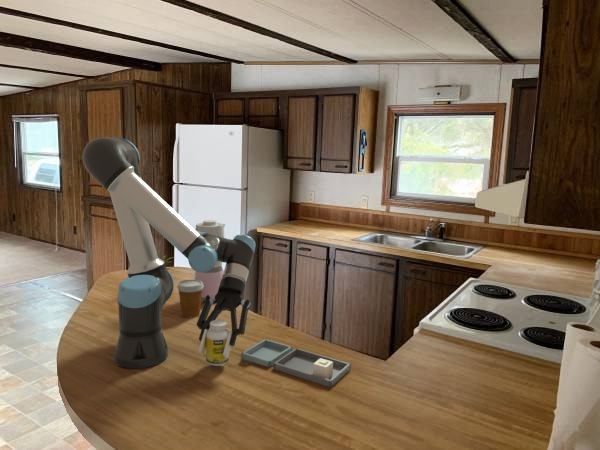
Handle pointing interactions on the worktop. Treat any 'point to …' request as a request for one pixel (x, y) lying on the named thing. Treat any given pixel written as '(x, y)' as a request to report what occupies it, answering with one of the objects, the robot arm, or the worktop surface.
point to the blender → (215, 274)
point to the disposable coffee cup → (190, 297)
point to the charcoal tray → (310, 366)
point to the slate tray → (265, 353)
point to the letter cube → (323, 368)
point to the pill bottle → (216, 343)
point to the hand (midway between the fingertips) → (213, 354)
